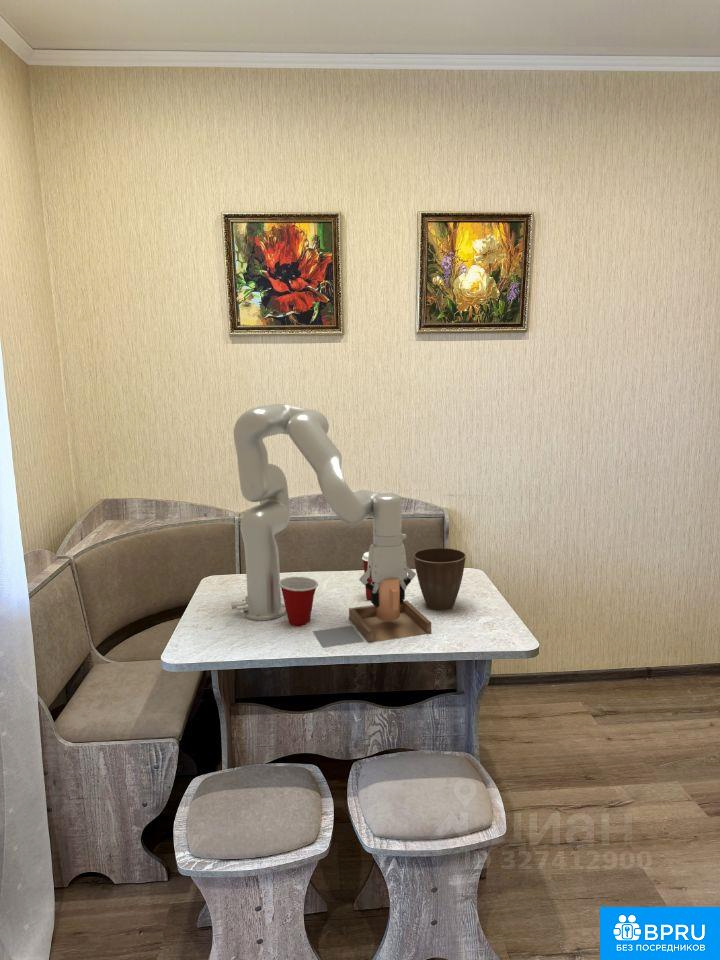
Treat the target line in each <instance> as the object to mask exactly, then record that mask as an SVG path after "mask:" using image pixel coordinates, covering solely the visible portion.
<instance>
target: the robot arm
mask: <svg viewBox="0 0 720 960" xmlns="http://www.w3.org/2000/svg"><path fill="white" fill-rule="evenodd" d="M329 429H330V425H329V422H328V419H327V417H326V416H325V415H324V413H322V412H320V411H317V410H314V409H310V408H303V407H299V406H293V405H290V404H289V405H288V404H284V403H274V404H273V403H272V404H266V405H260V406H256V407H253V408H250V409H248V410H246V411H245V412H244V413H242V414H241V415H240V416H239V417H238V419H237V420H236V422H235V424H234V428H233V439H234V440H233V441H234V446H235V451H236V458H237V460H236V461H237V469H238V476H239V477H238V478H239V479H238V480H239V486H240V492H241V494H242V496H243V498H244V499H245V500H246V501H248V502H250V503H251V502H252V503H258V502H259V504H258V505H255V506H253V507H251V508H250V509H248V510H247V511H246V512H245V513H244V514H243V515H242V517H241V521H240V533H241V538H242V541H243V542H242V543H243V547H244V556H245V557H244V559H245V572H246V573H245V574H246V575H245V576H246V593H247V596H244V598H245V599H242V600H241V601H232V602H231V610H235V609H236V611H242V615H243V616H244V617H245V618H247V619H249V620H253V621H269V620H274V619H278V618H280V617H282V616H284V615H285V614H287V613H286V608H285V603H282V597H281V596H282V592H281V586H280V585H279V581H280V580H281V575H280V556H279V548H278V544H277V541H276V537H275V535H276V534H278V533H280V532H281V531H283V530H284V529H285V528H287V526H288V525H289V522H290V520H291V505H290V498H289V489H288V488H289V487H288V482H287V477H286V475H285V473H284V471H283V470H282V468H280V467H279V466H278V465H276V464H273V463H269V455H268V450H267V447H266V445H265V443H264V439H265V438H267V437H272V436H276V435H279V434H281V435H282V434H283V435H287V436H288V437H289V438H290V440H291V442H292V443H293V444H294V445H295V446H296V448H297V449H298V450H299V452H300V453H301V455H302V456H303V457H304V459H305V460H306V461H307V462H308V464H309V466H311V468H312V470H314V472H315V474H316V477H317V478H316V479H317V482H318V485H319V488H320V492H321V494H322V495H323V498H324V499H325V501H326V502H327V504H328V505H329V507H330V508H331V510H332V511H333V512H334V513H335V515H336V516H337V517H338V518H339V520H341V521H342V522H343V523H345V524H348V525H351V526H352V525H354V526H355V525H358V524H360V523H362V522H363V521H365V520H366V519H369V518H372V524H373V525H372V526H373V528H372V531H373V532H372V535H373V538H372V539H373V543H371V544H370V546H369V549H368V552H369V556H368V568H367V571H366V572H365V573H364V572H363V574H362V575H361V576H360V578H359V581H360V583H361V584H362V585H364V586H366V587H367V588H368V589H369V590H370V591H371V601H370V602H371V605H374V606H375V607H379V594H378V592H377V590H378V587H379V583H381V582H382V580H391V579H399V581H400V604H403V601H405V598H406V593H405V591H406V590H407V587H408V586H409V585H410V583H411V581H412V580H413V579H414V578H415V577H416V576H417V573H416V572H414V571H413V570H412V569H411V568H410V567H409V566H408V562H407V561H408V560H407V554H406V548H405V545H404V543H403V540H406V539H407V534H406V533H403V532H402V531H403V530H402V529H403V527H402V523H403V519H402V497H401V496H400V495H399V494H397V493H394V492H393V493H392V492H382V493H381V492H376V491H372V490H366V489H361V490H357V491H355V492H353V490H352V489H351V488H350V486H349V485H348V484H347V482H346V480H345V478H344V475H343V471H342V461H343V460H342V459H343V457H342V453H341V451H340V450H339V448H338V447H337V446H336V445H335V443H334V442H333V441H332V439H331V438H330V437H329V435H328V432H329ZM368 578H370V579H372V582H371V584H369V583H368V582H367V579H368Z"/></svg>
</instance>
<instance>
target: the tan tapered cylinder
mask: <svg viewBox="0 0 720 960" xmlns="http://www.w3.org/2000/svg"><path fill="white" fill-rule="evenodd" d="M377 592H378V594H379V607H376V617H377V618H378V619H381V620H395V619H398V618H399V617H400V581H399V579H391V580H382V582H381V583H379V587H378V590H377Z"/></svg>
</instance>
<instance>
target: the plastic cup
mask: <svg viewBox="0 0 720 960" xmlns="http://www.w3.org/2000/svg"><path fill="white" fill-rule="evenodd" d="M279 585H280V591H281V596H282V597H283V602H284V603H283V604H284V605H285V608H286V613H285V614H286V617H287V620H288V623H289V625H290V626H292V627H304V626H307V624H308V623H309V622H310V621H311V615H312V612H313V611H312V610H313V604H314V598H315V597H314V596H315V593H316V589H317V587H319V582H318V581H317V580H315V579H313V578H310V577H306V576H290V577H288V576H287V577H285V578H282V579H280V581H279Z"/></svg>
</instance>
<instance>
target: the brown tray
mask: <svg viewBox="0 0 720 960" xmlns="http://www.w3.org/2000/svg"><path fill="white" fill-rule="evenodd" d="M348 619H349V620H350V622H351V623H352V624H353V625H354V627H355V628H356V630H358V632H359V633H360V635H362V636H363V638H364V639H365V641H367V643H368V644H371V643H377V642H378V643H379V642H383V641H391V640H396V639H397V640H398V639H404V638H410V637H417V636H422V635H423V636H424V635H430V634H432V622H431V620H430V619H428V617H426V616H425V615H424V614H423V613H422V612H420V611H419V610H418V608H416V607H415V606H414V605H413V604H411V603H410V602H409V601H408V600H403V604H400V617H399V618H398V619H395V620H381V619H378V618H377V617H376V607H375V606H374V605H373V604H371V605H365V606H362V605H361V606H355V607H349V608H348Z"/></svg>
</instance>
